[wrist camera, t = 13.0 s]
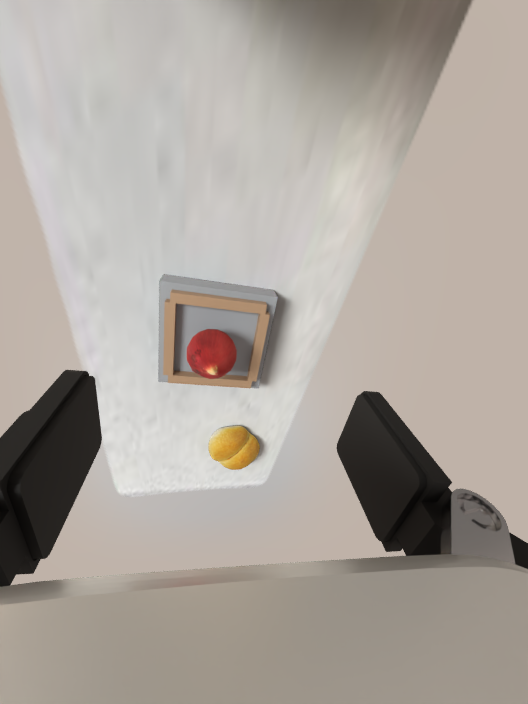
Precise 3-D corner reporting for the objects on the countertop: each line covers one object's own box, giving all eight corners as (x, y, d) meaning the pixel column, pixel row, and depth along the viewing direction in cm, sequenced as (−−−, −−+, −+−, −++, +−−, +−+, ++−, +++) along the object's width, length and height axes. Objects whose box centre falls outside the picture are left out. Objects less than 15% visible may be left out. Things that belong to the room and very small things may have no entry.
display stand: (163, 274, 35) (157, 283, 31) (273, 289, 37) (279, 300, 34) (162, 369, 41) (156, 386, 37) (256, 376, 44) (259, 393, 40)
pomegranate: (200, 364, 38) (196, 402, 31) (181, 327, 35) (172, 360, 28) (241, 350, 38) (245, 385, 31) (225, 312, 35) (227, 342, 28)
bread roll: (233, 415, 47) (234, 432, 44) (265, 442, 52) (268, 460, 48) (197, 440, 49) (195, 459, 46) (231, 464, 53) (231, 483, 50)
